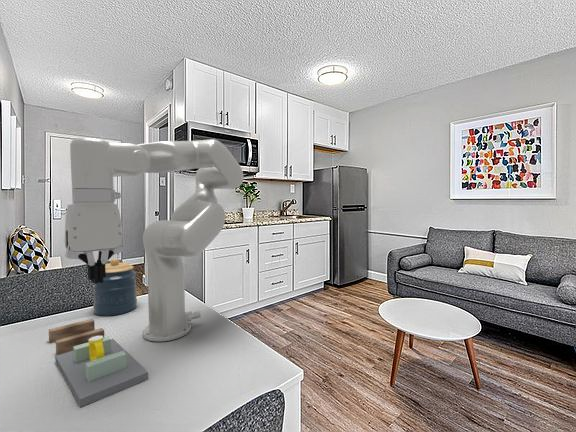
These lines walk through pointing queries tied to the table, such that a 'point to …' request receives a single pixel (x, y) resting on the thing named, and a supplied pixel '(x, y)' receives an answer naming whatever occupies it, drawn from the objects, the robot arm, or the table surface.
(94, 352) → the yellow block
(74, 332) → the holder
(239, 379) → the table surface
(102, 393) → the dock
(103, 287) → the canister
